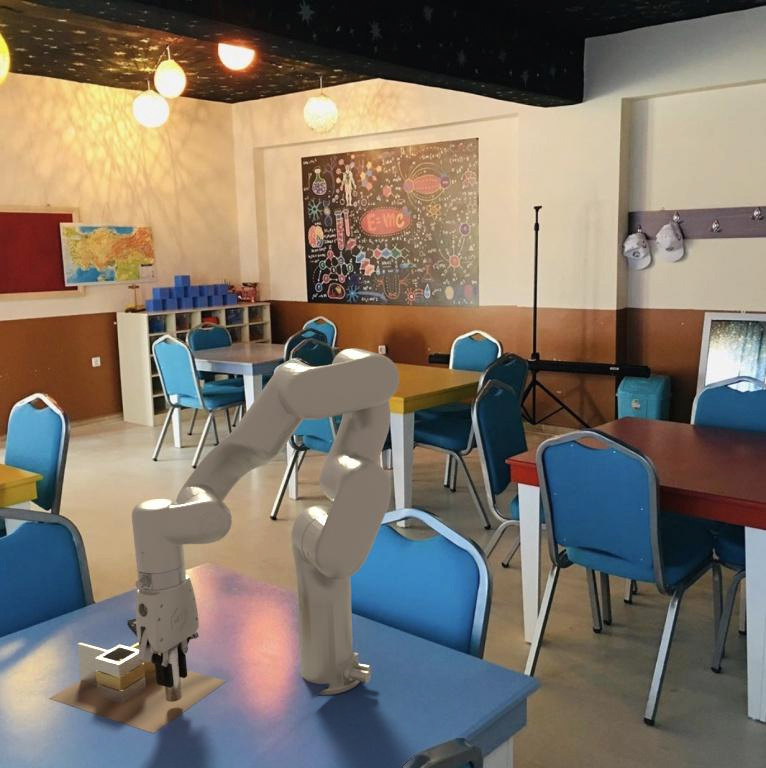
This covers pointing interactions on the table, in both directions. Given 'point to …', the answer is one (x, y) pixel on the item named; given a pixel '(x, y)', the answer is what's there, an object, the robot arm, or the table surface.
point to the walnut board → (141, 701)
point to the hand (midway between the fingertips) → (172, 679)
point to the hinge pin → (174, 676)
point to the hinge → (114, 670)
